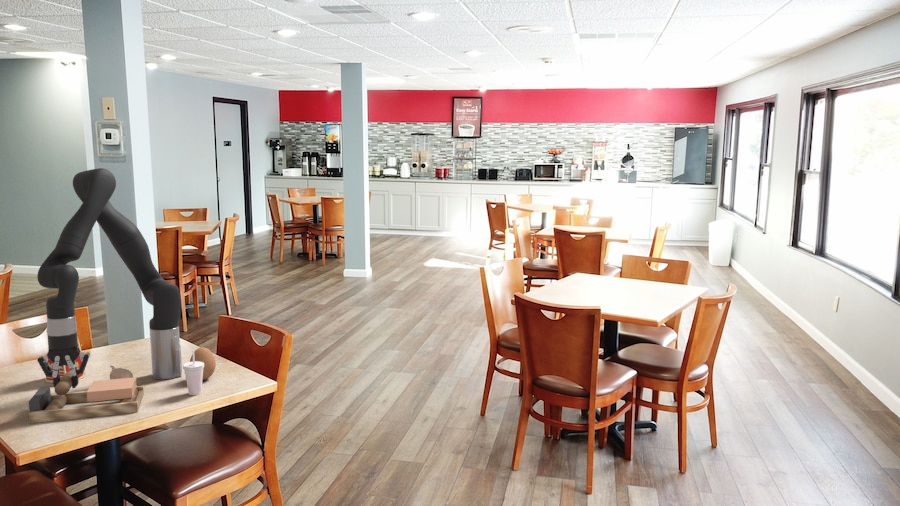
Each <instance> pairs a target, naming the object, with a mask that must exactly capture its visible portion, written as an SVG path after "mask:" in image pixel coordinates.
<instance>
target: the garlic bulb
mask: <svg viewBox="0 0 900 506" xmlns="http://www.w3.org/2000/svg"><path fill="white" fill-rule="evenodd" d="M109 367H110V368H111V371H110V373H109V380H111V379H122V378H133V377H134V375H133V373H132V371H130V370H129V369H127V368H123V367H117V368H116V367H115V366H114V365H110V366H109Z"/></svg>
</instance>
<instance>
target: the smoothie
mask: <svg viewBox="0 0 900 506" xmlns="http://www.w3.org/2000/svg"><path fill="white" fill-rule="evenodd" d="M194 351H195V350H194ZM194 351H192V354H193V362H190V361H188V362H186V363H184V364H182V370H184V374H185V375H184V376H185V380H186V385H187V390H188V395H190V396H198V395H201V394H202V389H203V388H202V387H203V380H202V379H203V367H204V366H205V365H204V362H200V361H195V357H194ZM192 354H191V355H192Z"/></svg>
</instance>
